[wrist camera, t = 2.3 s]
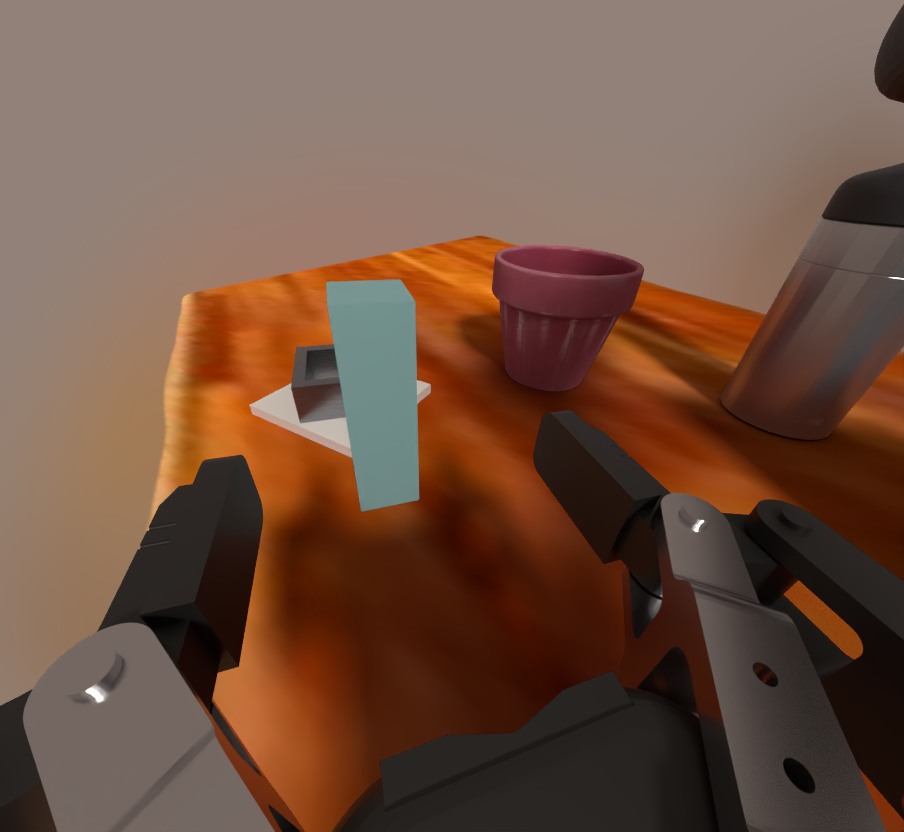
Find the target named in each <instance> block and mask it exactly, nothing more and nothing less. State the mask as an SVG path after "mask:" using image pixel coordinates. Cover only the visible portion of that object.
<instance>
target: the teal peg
mask: <svg viewBox="0 0 904 832" xmlns="http://www.w3.org/2000/svg"><path fill="white" fill-rule="evenodd" d="M326 286H327V306H328V312H329V318H330V324H331V330H332V336H333V342H334V348H335V355H336V361H337V367H338V373H339V379H340V385H341V391H342V397H343V403H344V409H345V415H346V421H347V428H348V434H349V440H350V446H351V452H352V458H353V464H354V470H355V476H356V482H357V488H358V494H359V501H360V507H361V512H362V511H367V510H372V509H377V508H382V507H387V506H392V505H397V504H402V503H407V502H412V501H417V500H419V469H418V420H417V372H416V323H415V300H414V299H413V297H412V296H411V294H410V293H409V291H408V290H407V288H406V287H405V286H404V284H403V283H402V281H401V280H373V281H343V282H326Z"/></svg>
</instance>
